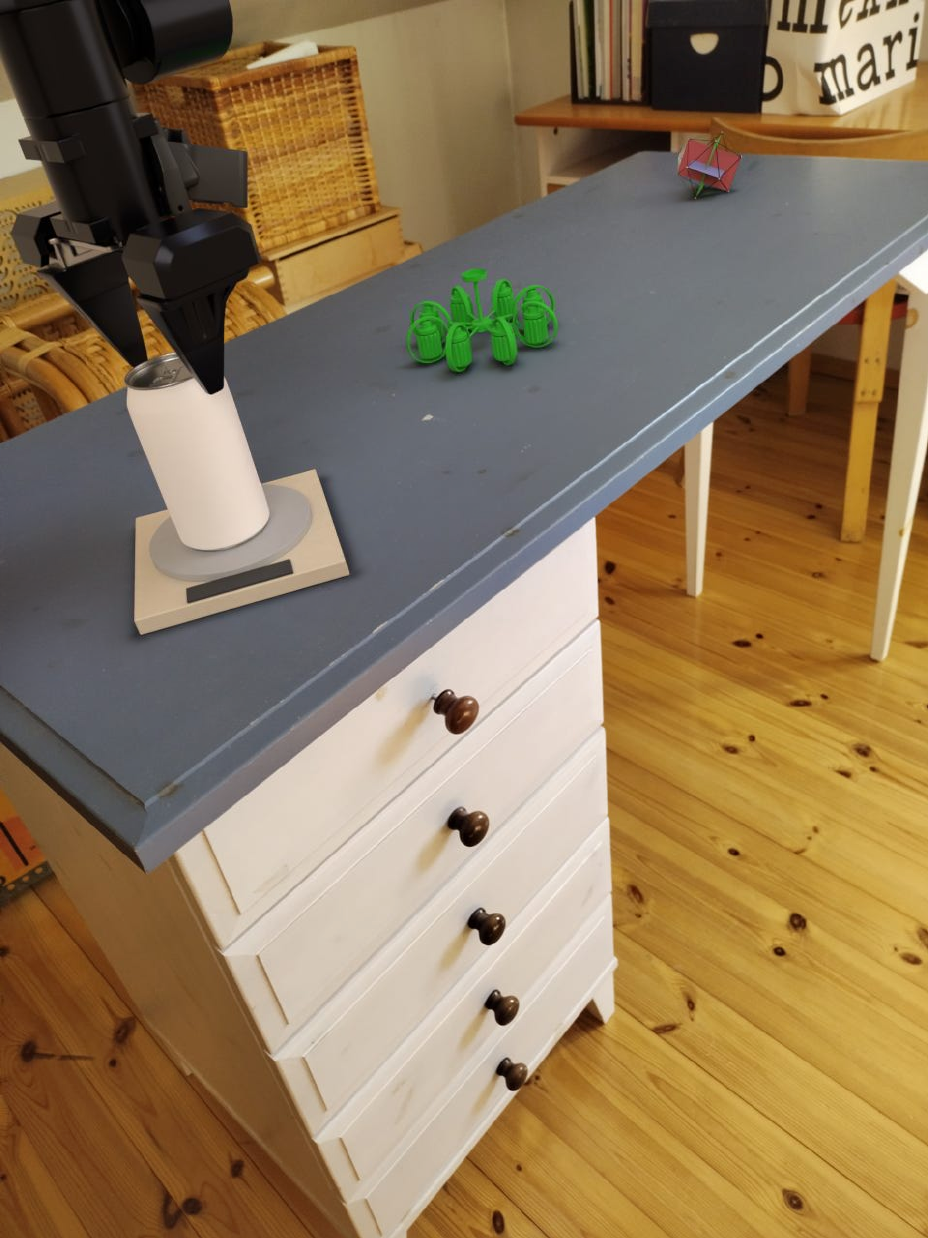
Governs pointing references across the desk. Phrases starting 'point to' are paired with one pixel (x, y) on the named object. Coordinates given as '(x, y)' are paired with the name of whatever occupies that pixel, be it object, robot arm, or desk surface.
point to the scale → (236, 559)
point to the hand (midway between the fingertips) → (176, 377)
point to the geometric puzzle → (708, 164)
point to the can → (196, 455)
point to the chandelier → (481, 323)
